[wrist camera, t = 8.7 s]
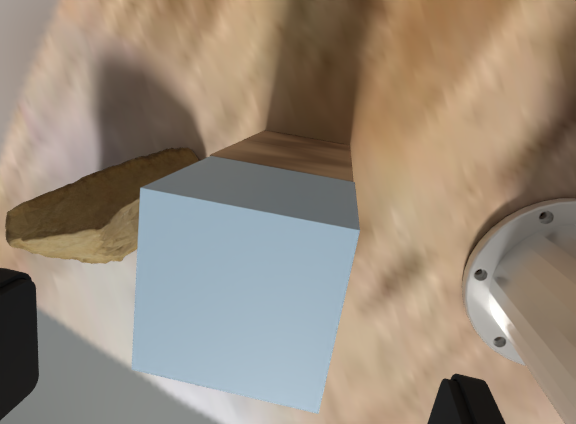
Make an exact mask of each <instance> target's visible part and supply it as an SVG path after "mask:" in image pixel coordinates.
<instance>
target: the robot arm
mask: <svg viewBox="0 0 576 424" xmlns="http://www.w3.org/2000/svg"><path fill="white" fill-rule="evenodd" d="M541 213H543V215H542V216H541V217H539V216H540V214H541ZM479 269H480V271H479V272H476V271H477V270H479ZM462 297H463V303H464V307H465V310H466V313H467V316H468V318H469V320H470V322H471V324H472V326H473V328H474V329H475V330H476V332H477V333H478V335H479V336H480V337H481V339H482V340H483V341H484V342H485V343H486V344H487V345H488V346H489V347H490V348H491V349H492V350H494V351H495V352H497V353H499V354H500V355H502V356H503V357H505V358H507V359H509V360H511V361H514V362H516V363H519V364H521V365H525V366H527V368H528V369H529V371H530V372H531V374H532V375H533V377H534V378H535V380H536V381H537V383H538V384H539V386H540V387H541V389H542V390H543V392H544V393H545V395H546V396H547V398H548V399H549V401H550V402H551V404H552V405H553V407H554V408H555V410H556V411H557V413H558V414H559V416H560V417H561V419H562V420H563V422H564V423H565V424H576V198H560V199H554V200H548V201H542V202H539V203H536V204H533V205H530V206H527V207H524V208H522V209H520V210H518V211H516V212H514V213H513V214H511V215H509V216H507V217H505V218H504V219H503V220H501V221H500V222H499V223H497V224H496V225H495V226H493V227H492V228H491V229H490V230H489V231H488V232H487V233H486V234H485V235H484V237H483V238H482V239H481V240H480V241H479V242H478V244H477V245H476V247H475V249H474V250H473V252H472V253H471V255H470V257H469V259H468V262H467V265H466V267H465V270H464V275H463V282H462ZM38 377H39V369H38V339H37V308H36V286H35V284H34V282H32V280H31V277H30V276H29V275H28V274H26V273H23V272H19V271H14V270H10V269H6V268H0V420H1V419H2V418H3V417H5V416H6V415H7V414H8V413H9V412H10V411H11V410H12V409H13V408H14V407H16V406H17V405H18V404H19V403H20V402H21V401H22V400H23V399H24V398H25V397H27V396H28V395H29V394H30V393H31V392H32V391H33V389H34V388H35V386H36V384H37V381H38ZM428 424H505V422H504V419H503V417H502V415H501V413H500V411H499V409H498V407H497V404H496V402H495V400H494V398H493V396H492V394H491V392H490V389H489V387H488V385H487V384H486V382H485V381H484V380H481V379H477V378H472V377H468V376H464V375H460V374H454V375H453V376H452V377H451V379H450V380H449V379H443V380H442V382H441V384H440V387H439V390H438V393H437V396H436V399H435V402H434V405H433V409H432V412H431V415H430V418H429V421H428Z"/></svg>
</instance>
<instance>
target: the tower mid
mask: <svg viewBox="0 0 576 424" xmlns="http://www.w3.org/2000/svg"><path fill="white" fill-rule="evenodd" d="M210 156H215V157H220V158H226V159H231V160H237V161H242V162H248V163H253V164H258V165H264V166H269V167H275V168H280V169H285V170H291V171H296V172H302V173H307V174H313V175H318V176H323V177H329V178H334V179H340V180H345V181H351V182H353V171H352V161H351V158H345V157H340V156H334V155H329V154H323V153H317V152H312V151H306V150H300V149H295V148H289V147H283V146H278V145H272V144H267V143H261V142H255V141H250V140H243V141H240V142H238V143H236V144H233V145H231V146H229V147H227V148H224V149H222V150H220V151H218V152H215V153H213V154H211V155H210Z"/></svg>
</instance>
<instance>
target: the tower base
mask: <svg viewBox="0 0 576 424" xmlns="http://www.w3.org/2000/svg"><path fill="white" fill-rule="evenodd" d="M244 140H250V141H255V142H261V143H267V144H272V145H278V146H283V147H289V148H295V149H300V150H306V151H312V152H317V153H323V154H329V155H334V156H340V157H345V158H351V152H350V145H345V144H340V143H334V142H328V141H323V140H317V139H311V138H306V137H300V136H294V135H289V134H283V133H277V132H272V131H266V130H265V131H262V132H260V133H258V134H256V135H253V136H251V137H249V138H247V139H244Z"/></svg>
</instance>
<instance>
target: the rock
mask: <svg viewBox="0 0 576 424" xmlns="http://www.w3.org/2000/svg"><path fill="white" fill-rule="evenodd" d="M198 161H199V160H198V158H197V157H196V155H195V154H194V153H193V151H192V150H191V149H189V148H178V149H173V148H170V149H165V150H163V151H160V152H157V153H153V154H150V155H148V156H141V157H138V158H135V159H131V160H129V161H127V162H124V163H122V164H119V165H116V166H111V167H108V168H106V169H104V170H102V171H98V172H95V173H92V174H90V175H87V176H85V177H82V178H81V179H79V180H78V181H76V182H74V183H72V184H67V185H65V186H64V187H61V188H58V189H56V190H54V191H51V192H48V193H45V194H43V195H40V196H38V197H36V198H34V199H32V200H29V201H26V202H23V203H21V204H20V205H18V206H16V207H15V208H13V209H12V210H10V211H8V212H7V217H6V225H5V227H6V240H7V242H8V243H9V245H10V246H11V247H14V248H20V249H24V250H27V251H29V252H31V253H33V254H40V255H43V256H45V257H51V258H61V259H74V260H79V261H80V262H83V263H85V262H86V263H91V264H93V263H105V264H106V263H108V262H109V261H122V260H123V258H124V257H125V256H126V255H128V254H130V253H131V252H133V251H134V250H136V249H137V248H138V226H139V205H140V188H141V187H143V186H145V185H148V184H150V183H152V182H154V181H156V180H159V179H161V178H163V177H165V176H167V175H170V174H172V173H174V172H176V171H179V170H181V169H183V168H185V167H187V166H190V165H192V164H194V163H196V162H198Z"/></svg>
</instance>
